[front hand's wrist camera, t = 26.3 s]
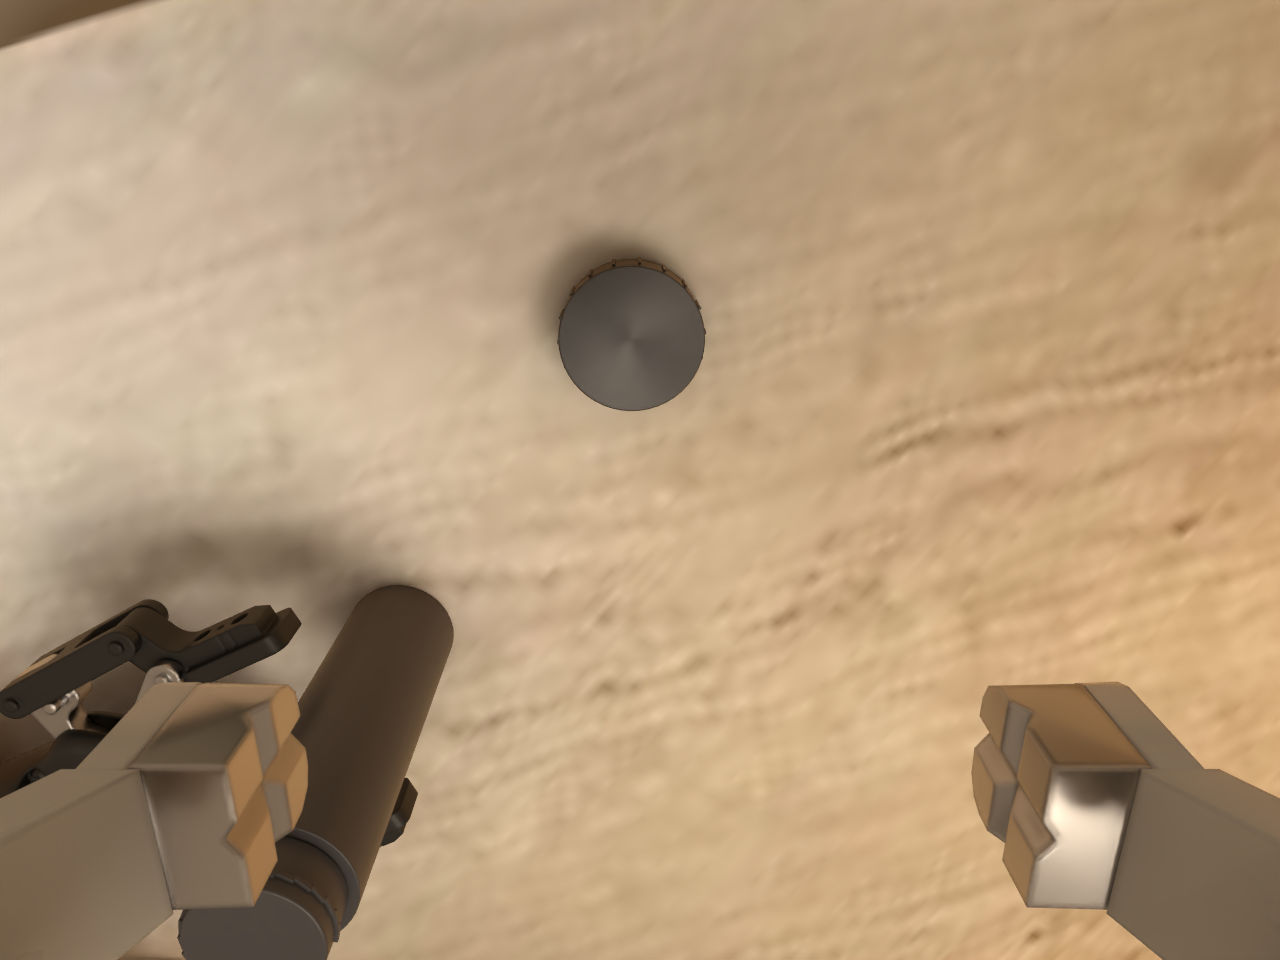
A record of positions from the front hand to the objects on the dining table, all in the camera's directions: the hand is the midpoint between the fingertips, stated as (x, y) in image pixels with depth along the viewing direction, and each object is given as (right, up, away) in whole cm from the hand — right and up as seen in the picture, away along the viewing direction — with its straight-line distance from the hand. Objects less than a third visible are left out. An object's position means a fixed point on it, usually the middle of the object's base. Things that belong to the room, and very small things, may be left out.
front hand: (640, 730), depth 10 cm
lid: (0, +8, +22) cm, 24 cm away
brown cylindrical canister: (-10, -4, +28) cm, 31 cm away
